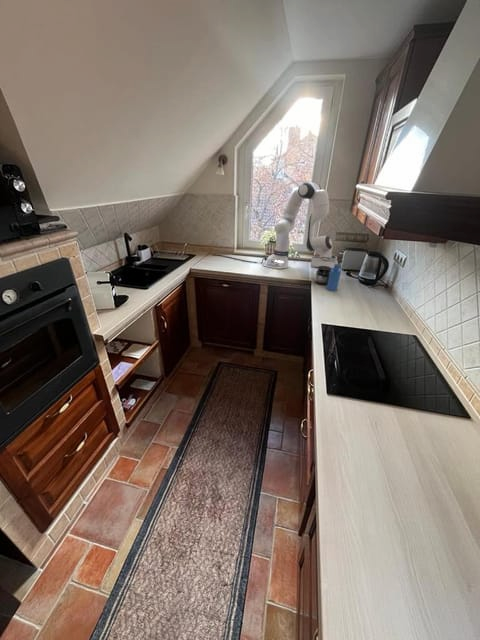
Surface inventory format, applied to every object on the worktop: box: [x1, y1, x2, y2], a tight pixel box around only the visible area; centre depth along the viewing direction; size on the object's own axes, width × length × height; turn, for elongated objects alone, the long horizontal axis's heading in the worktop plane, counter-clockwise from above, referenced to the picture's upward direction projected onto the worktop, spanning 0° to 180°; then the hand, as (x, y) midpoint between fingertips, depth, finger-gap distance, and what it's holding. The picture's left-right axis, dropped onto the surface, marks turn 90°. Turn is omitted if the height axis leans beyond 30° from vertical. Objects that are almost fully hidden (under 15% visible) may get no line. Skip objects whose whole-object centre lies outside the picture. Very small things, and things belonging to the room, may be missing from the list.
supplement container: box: [314, 266, 331, 286], centre depth 191 cm, size 10×10×12 cm
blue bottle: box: [326, 263, 342, 292], centre depth 179 cm, size 7×7×18 cm
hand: (322, 273), depth 196 cm, fingers closed, pressing on supplement container
